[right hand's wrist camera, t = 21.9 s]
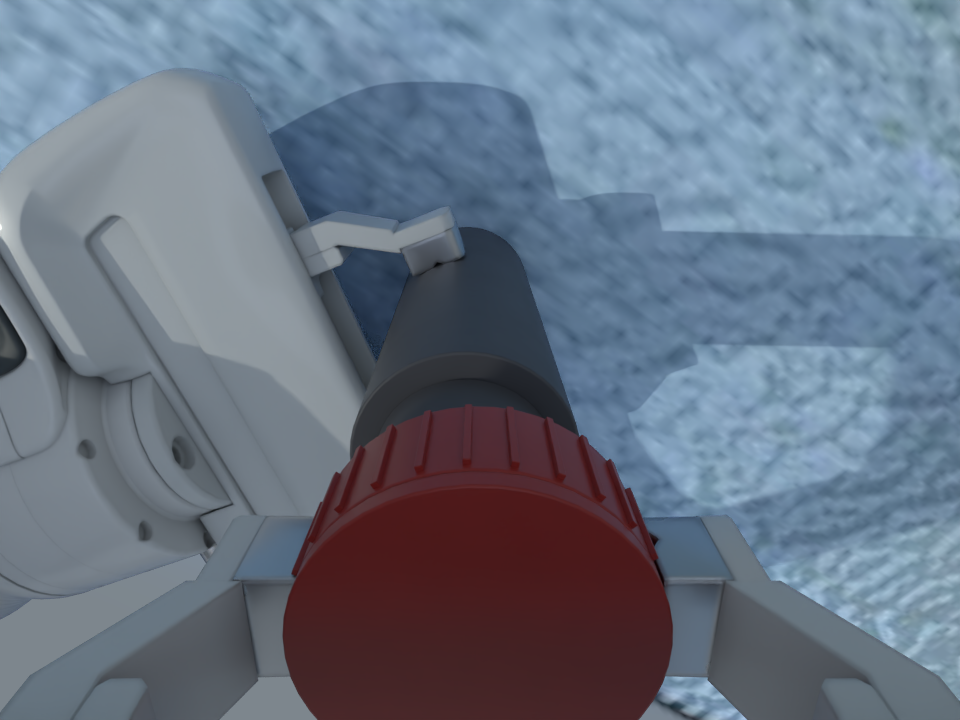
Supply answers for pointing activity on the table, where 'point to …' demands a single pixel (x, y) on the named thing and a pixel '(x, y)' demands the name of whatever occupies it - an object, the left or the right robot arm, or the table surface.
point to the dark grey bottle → (464, 344)
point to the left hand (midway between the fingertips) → (491, 315)
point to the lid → (477, 579)
